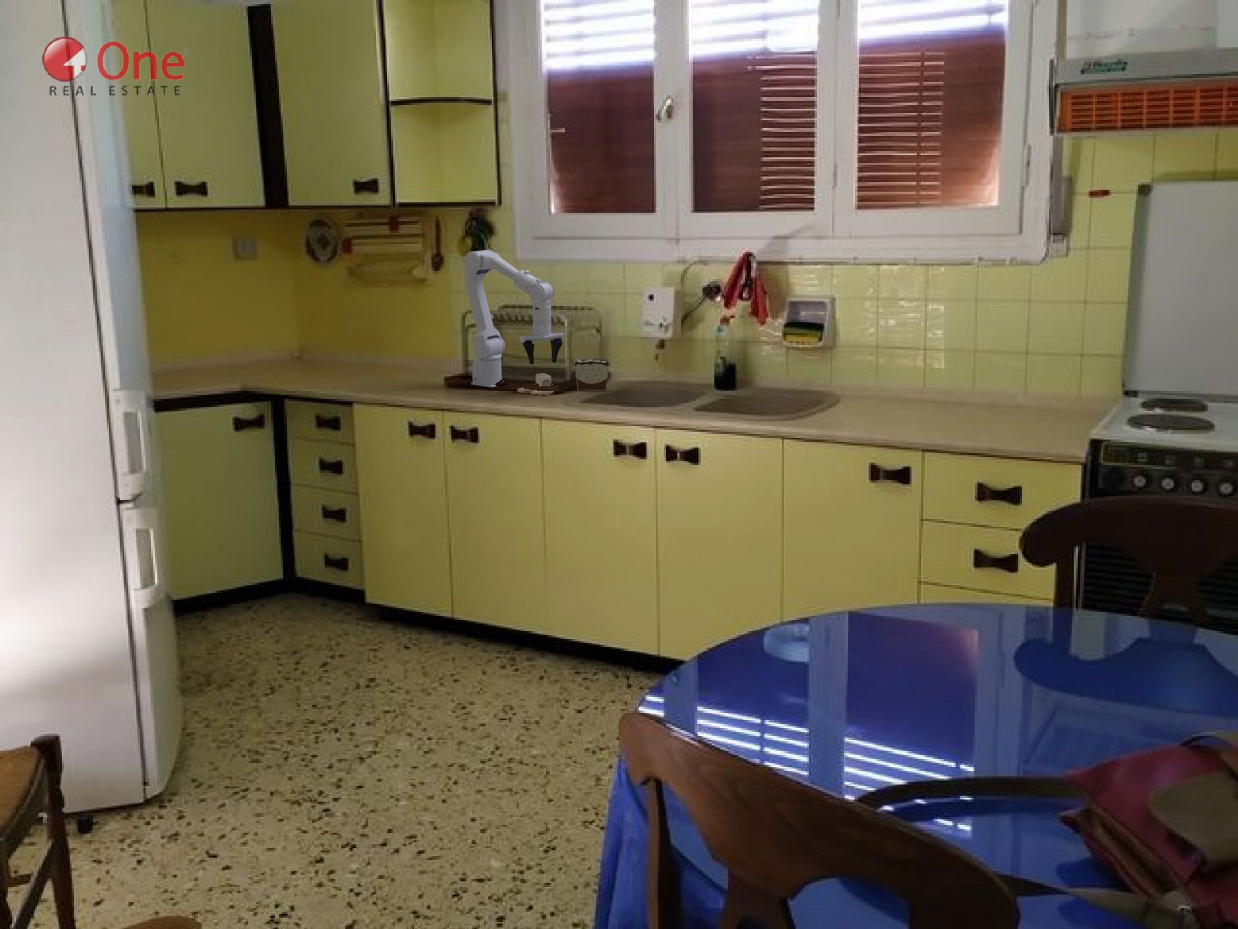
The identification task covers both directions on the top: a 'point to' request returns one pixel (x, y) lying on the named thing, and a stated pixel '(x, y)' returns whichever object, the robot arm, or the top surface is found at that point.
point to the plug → (543, 380)
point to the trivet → (534, 391)
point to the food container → (591, 373)
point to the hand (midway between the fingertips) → (542, 363)
